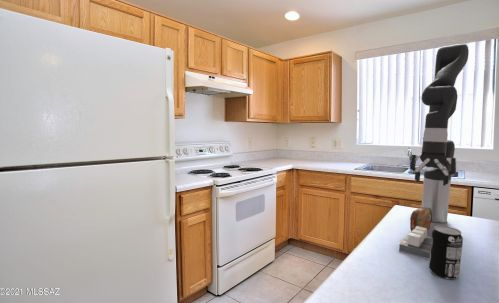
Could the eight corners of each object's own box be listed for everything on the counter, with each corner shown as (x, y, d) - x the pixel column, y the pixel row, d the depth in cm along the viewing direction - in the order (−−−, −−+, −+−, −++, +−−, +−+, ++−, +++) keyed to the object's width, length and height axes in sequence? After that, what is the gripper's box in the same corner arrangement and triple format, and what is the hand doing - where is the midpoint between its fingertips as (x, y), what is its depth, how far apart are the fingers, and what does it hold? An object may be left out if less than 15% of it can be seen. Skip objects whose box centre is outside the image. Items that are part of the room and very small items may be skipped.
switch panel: (409, 238, 95) (410, 232, 95) (452, 249, 87) (453, 242, 87) (398, 250, 86) (399, 243, 86) (445, 263, 78) (446, 256, 77)
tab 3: (409, 241, 87) (410, 232, 87) (420, 244, 85) (421, 235, 85) (407, 244, 85) (408, 234, 85) (418, 247, 83) (419, 237, 83)
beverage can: (430, 264, 77) (433, 223, 76) (459, 272, 73) (464, 229, 72) (427, 274, 72) (430, 229, 71) (458, 283, 68) (463, 236, 67)
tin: (417, 237, 96) (418, 213, 95) (407, 234, 99) (409, 211, 98) (432, 227, 106) (434, 206, 105) (422, 225, 108) (424, 204, 107)
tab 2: (413, 238, 90) (413, 229, 90) (423, 240, 88) (424, 231, 88) (411, 240, 88) (411, 231, 88) (421, 243, 86) (422, 233, 86)
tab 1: (415, 234, 93) (416, 226, 92) (426, 237, 91) (427, 228, 90) (414, 236, 91) (414, 227, 91) (424, 239, 89) (425, 230, 89)
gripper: (459, 141, 101) (455, 185, 102) (415, 139, 110) (412, 179, 111) (457, 141, 95) (452, 188, 96) (410, 139, 105) (407, 181, 106)
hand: (430, 183), depth 104 cm, fingers open, 8 cm apart
